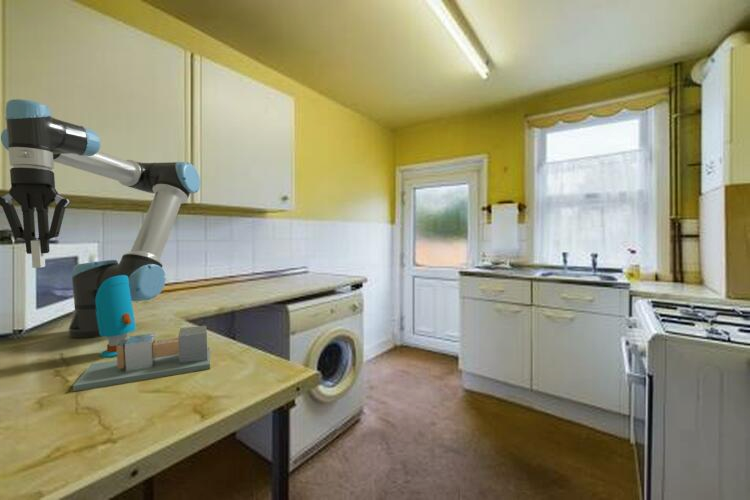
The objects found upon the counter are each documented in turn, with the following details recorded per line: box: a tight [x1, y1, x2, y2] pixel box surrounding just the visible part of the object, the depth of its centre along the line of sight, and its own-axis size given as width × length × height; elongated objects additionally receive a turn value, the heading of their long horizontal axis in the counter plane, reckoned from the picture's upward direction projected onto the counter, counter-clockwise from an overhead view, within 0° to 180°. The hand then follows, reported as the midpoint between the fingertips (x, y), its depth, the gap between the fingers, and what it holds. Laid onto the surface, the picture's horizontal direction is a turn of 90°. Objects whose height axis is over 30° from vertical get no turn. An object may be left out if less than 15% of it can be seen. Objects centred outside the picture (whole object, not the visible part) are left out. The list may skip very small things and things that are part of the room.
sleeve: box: [125, 333, 156, 372], centre depth 82 cm, size 7×5×6 cm
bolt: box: [116, 337, 179, 369], centre depth 83 cm, size 5×15×5 cm, turn 116°
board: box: [72, 346, 211, 392], centre depth 83 cm, size 13×26×1 cm, turn 116°
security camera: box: [93, 275, 137, 358], centre depth 93 cm, size 8×21×10 cm
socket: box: [177, 325, 208, 365], centre depth 86 cm, size 8×6×7 cm
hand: (39, 267), depth 84 cm, fingers closed
